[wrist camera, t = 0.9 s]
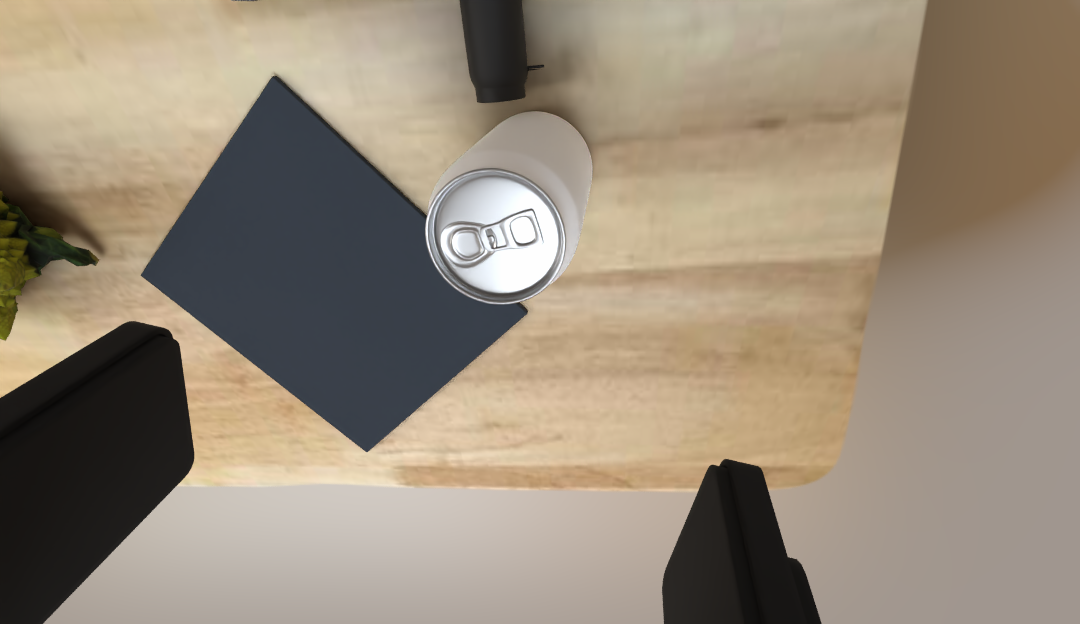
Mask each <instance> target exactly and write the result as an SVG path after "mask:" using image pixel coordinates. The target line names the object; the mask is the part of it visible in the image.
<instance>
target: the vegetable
mask: <svg viewBox="0 0 1080 624" xmlns="http://www.w3.org/2000/svg"><path fill="white" fill-rule="evenodd" d="M8 200H9V199H7V198H6V197H5V196H4V195H3V192H1V191H0V339H3V340H5V341H6V339H7V337H8V336H9V334H10V332H11V329H12V325H13V322H14V319H15V314H16V313H17V311H18V309H17V304H18V303H16V300H15V297H16V296H17V295H22V294H21V288H23V287H24V285H25V283H26V281H27V280H29V279H31V278H35V277H38V276H40V275H42V274H41V269H42V268H43V267H45V266H46V265H47V264H48V263H49V262H50V261H53V260H61V259H66V260H67V261H69V262H71V263H73V264H74V265H76V266H87V265H89V264H93V265H95V266H96V264H97V263H98V261H99V259H98V258H97V257H96V256H95V255H93V254H92V253H91V252H90V251H89V250H86V249H82V248H78V247H73V246H71V245H70V244H68V243H66V242H65V241H63V237H62V236H61V235H60V234H59V233H57V232H56V231H55V230H54V229H52V228H45V227H39V226H33V225H32V224H31V222H30V221H29V220H28V219H27V217H26V216H25V215H24V213H23V212H22V211H21V209H20V208H19V207H18V206H14V205H11V204H4V203H6V202H8Z"/></svg>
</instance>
